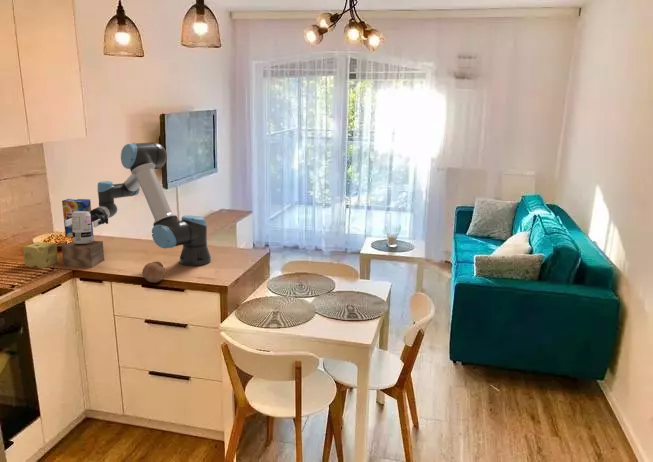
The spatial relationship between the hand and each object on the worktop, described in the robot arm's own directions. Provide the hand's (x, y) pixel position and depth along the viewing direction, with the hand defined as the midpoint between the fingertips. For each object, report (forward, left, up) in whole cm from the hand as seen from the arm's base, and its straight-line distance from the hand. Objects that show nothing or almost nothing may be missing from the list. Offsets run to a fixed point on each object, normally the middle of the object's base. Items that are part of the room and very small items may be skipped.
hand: (80, 224), depth 246 cm
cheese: (+18, +6, -20) cm, 28 cm away
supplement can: (0, 0, -9) cm, 10 cm away
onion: (-45, +14, -20) cm, 51 cm away
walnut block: (0, -1, -20) cm, 20 cm away
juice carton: (+25, -33, -20) cm, 46 cm away
